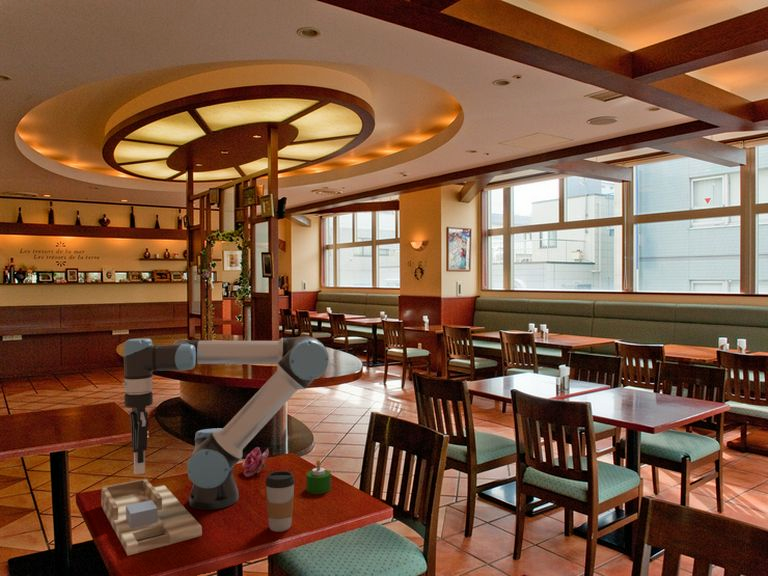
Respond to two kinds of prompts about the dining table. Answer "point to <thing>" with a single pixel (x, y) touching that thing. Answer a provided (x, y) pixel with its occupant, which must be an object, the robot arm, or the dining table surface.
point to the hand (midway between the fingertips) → (139, 472)
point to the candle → (318, 480)
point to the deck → (166, 531)
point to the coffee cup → (280, 499)
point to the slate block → (141, 514)
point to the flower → (254, 461)
